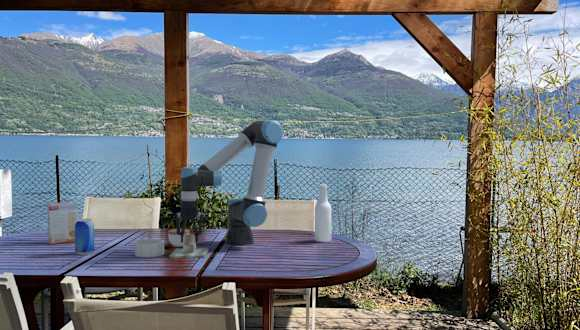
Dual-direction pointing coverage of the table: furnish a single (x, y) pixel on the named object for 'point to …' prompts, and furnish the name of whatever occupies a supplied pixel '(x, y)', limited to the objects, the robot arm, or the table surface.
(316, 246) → the table surface
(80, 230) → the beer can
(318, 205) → the alcohol
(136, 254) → the bowl
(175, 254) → the lid
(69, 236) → the cracker box
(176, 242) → the lidded jar
